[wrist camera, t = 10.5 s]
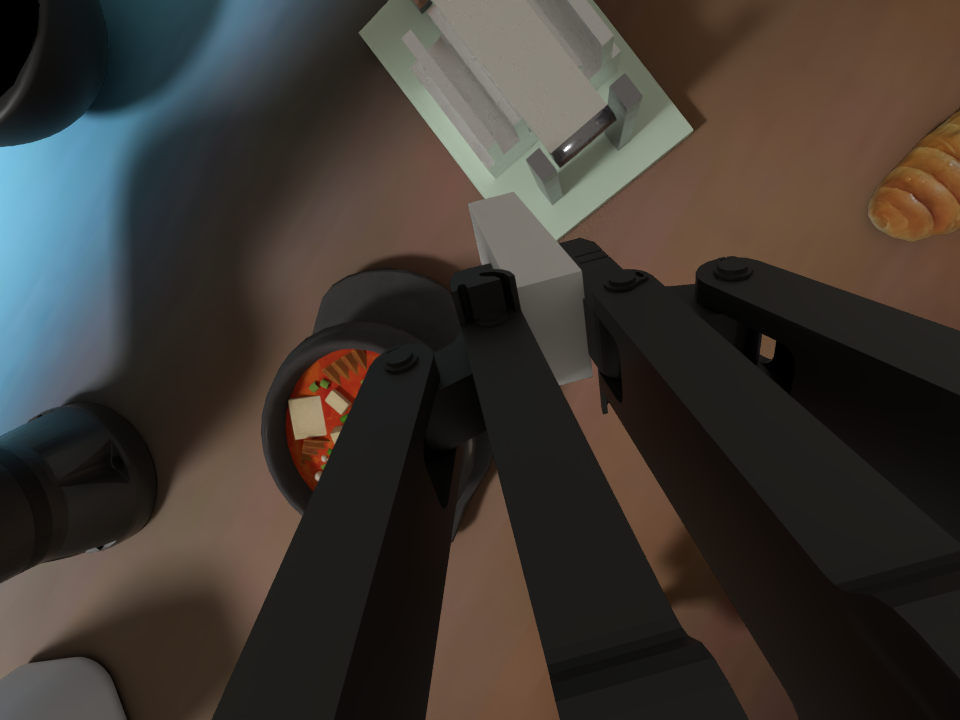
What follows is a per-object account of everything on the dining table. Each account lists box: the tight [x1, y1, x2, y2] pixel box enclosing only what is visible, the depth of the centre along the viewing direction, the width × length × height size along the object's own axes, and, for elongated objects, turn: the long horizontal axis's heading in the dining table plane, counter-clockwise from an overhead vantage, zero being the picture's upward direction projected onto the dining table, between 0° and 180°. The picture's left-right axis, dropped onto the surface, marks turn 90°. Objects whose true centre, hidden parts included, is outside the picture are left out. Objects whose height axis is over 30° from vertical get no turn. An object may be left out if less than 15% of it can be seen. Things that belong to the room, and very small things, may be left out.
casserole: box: [261, 268, 493, 542], centre depth 38 cm, size 25×19×8 cm
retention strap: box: [413, 0, 617, 168], centre depth 29 cm, size 17×6×1 cm, turn 38°
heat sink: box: [401, 0, 643, 205], centre depth 31 cm, size 19×11×8 cm, turn 38°
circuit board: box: [359, 0, 693, 242], centre depth 36 cm, size 22×14×1 cm, turn 38°
